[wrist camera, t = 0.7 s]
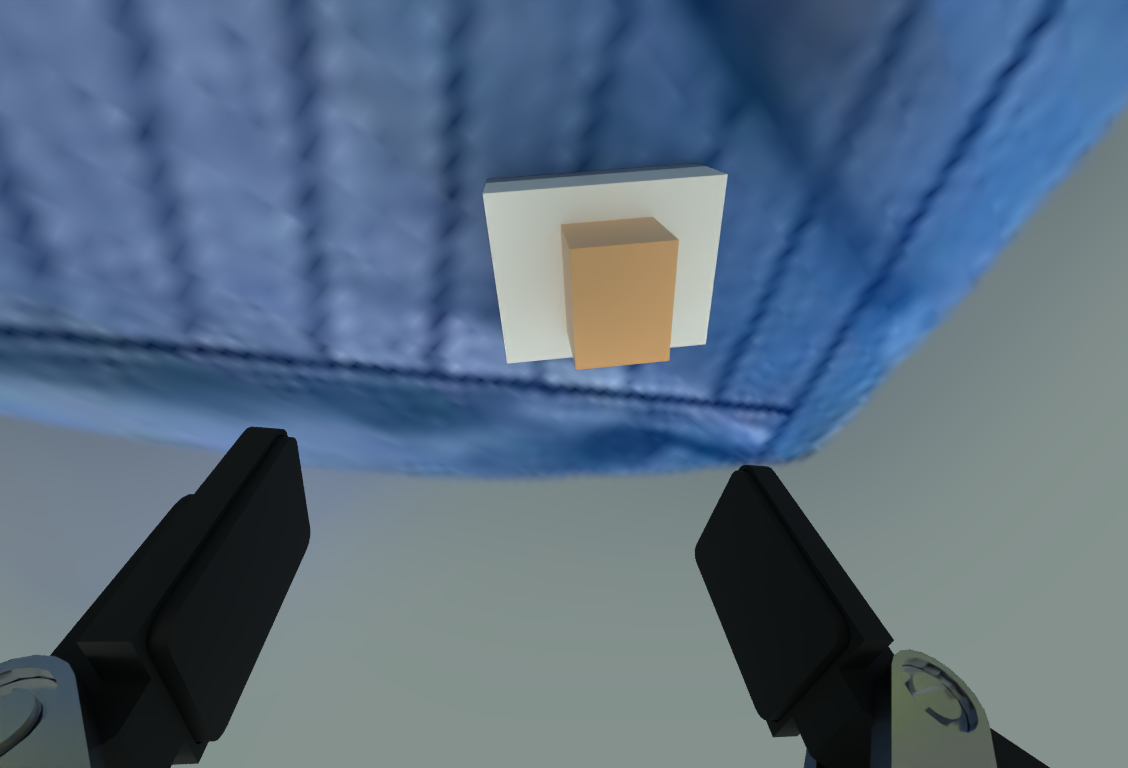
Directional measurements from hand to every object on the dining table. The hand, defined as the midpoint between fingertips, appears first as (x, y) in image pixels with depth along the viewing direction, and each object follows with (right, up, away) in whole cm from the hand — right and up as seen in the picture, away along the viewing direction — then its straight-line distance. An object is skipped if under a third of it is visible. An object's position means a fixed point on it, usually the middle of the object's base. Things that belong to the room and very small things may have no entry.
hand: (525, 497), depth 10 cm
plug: (+3, +11, +21) cm, 24 cm away
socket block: (+3, +12, +23) cm, 26 cm away
